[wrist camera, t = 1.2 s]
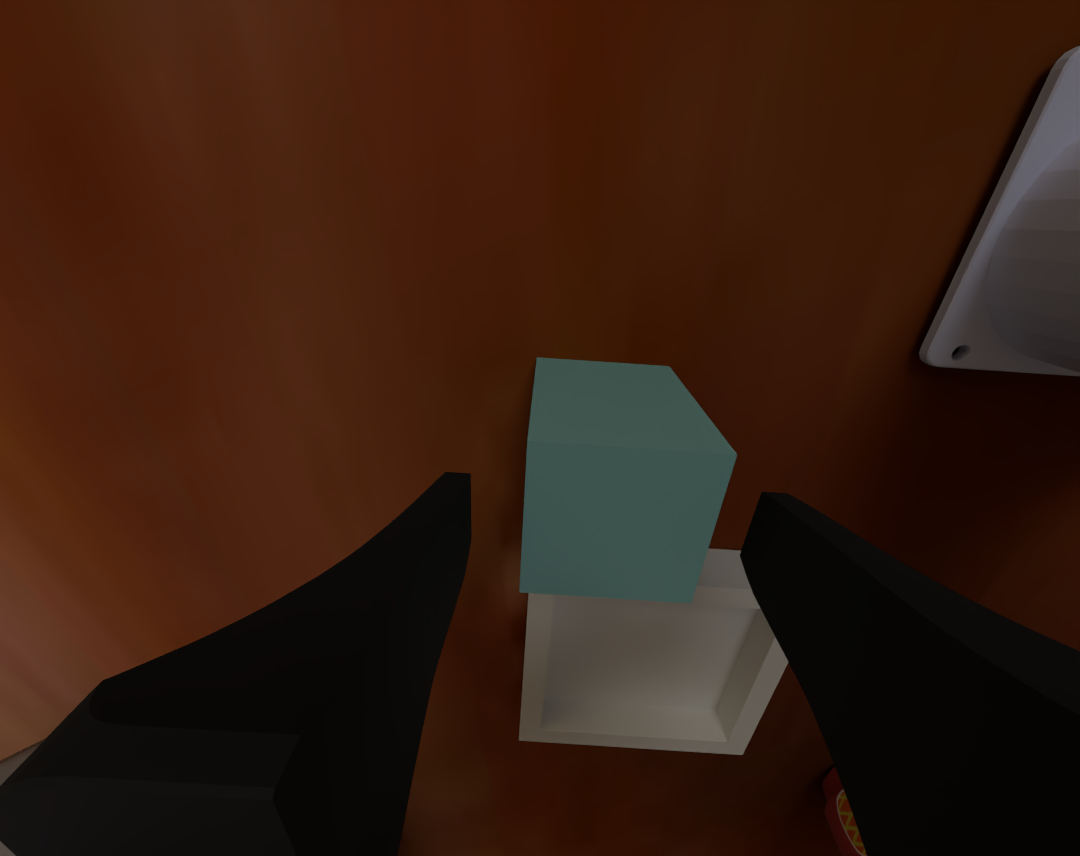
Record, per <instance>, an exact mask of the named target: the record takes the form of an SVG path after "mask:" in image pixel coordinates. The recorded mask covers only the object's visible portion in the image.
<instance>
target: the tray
mask: <svg viewBox="0 0 1080 856" xmlns="http://www.w3.org/2000/svg"><path fill="white" fill-rule="evenodd" d="M740 553H741V551H739V550H723V549H708V551H707V554H706V557H705V561H704V564H703V567H702V570H701V574H700V577H699V580H698V583H697V587H696V590H695V593H694V596H693V600H692V603H691V604H690V603H675V602H660V601H644V600H629V599H614V598H598V597H583V596H568V595H552V594H537V593H529V595H528V610H527V625H526V640H525V655H524V670H523V685H522V700H521V715H520V731H519V741H534V742H549V743H565V744H580V745H596V746H611V747H627V748H642V749H658V750H673V751H688V752H704V753H719V754H735V755H743V753H744V751H745V749H746V747H747V745H748V743H749V741H750V739H751V737H752V735H753V733H754V731H755V729H756V727H757V725H758V723H759V721H760V719H761V717H762V715H763V713H764V711H765V708H766V706H767V704H768V702H769V700H770V698H771V696H772V694H773V692H774V690H775V688H776V686H777V684H778V682H779V680H780V678H781V676H782V674H783V672H784V670H785V668H786V666H787V664H788V660H787V658H786V656H785V654H784V653H783V651H782V649H781V647H780V645H779V643H778V641H777V639H776V637H775V635H774V633H773V632H772V630H771V628H770V626H769V624H768V622H767V620H766V618H765V616H764V614H763V612H762V610H761V608H760V606H759V604H758V602H757V600H756V598H755V596H754V594H753V592H752V589H751V587H750V584H749V581H748V579H747V576H746V573H745V570H744V567H743V564H742V561H741V558H740Z"/></svg>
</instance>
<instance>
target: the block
mask: <svg viewBox="0 0 1080 856" xmlns="http://www.w3.org/2000/svg"><path fill="white" fill-rule="evenodd" d="M736 457H737V454H736V452H735V451H734V450H733V449H732V447H731V446H730V445H729V443H728V442H727V441H726V439H725V438H724V437H723V436H722V434H721V433H720V432H719V430H718V429H717V428H716V426H715V425H714V424H713V423H712V421H711V420H710V419H709V417H708V416H707V415H706V413H705V412H704V411H703V410H702V408H701V407H700V406H699V404H698V403H697V402H696V400H695V399H694V398H693V397H692V395H691V394H690V393H689V391H688V390H687V389H686V387H685V386H684V385H683V384H682V382H681V381H680V380H679V378H678V377H677V376H676V374H675V373H674V372H673V371H672V369H671V368H670V367H669V366H657V365H642V364H627V363H612V362H597V361H582V360H567V359H552V358H537V361H536V370H535V378H534V387H533V396H532V404H531V413H530V422H529V431H528V439H527V457H526V476H525V495H524V513H523V532H522V551H521V570H520V589H519V592H521V593H537V594H552V595H568V596H583V597H598V598H614V599H629V600H644V601H660V602H675V603H690V604H691V603H692V600H693V596H694V593H695V590H696V587H697V583H698V580H699V577H700V574H701V570H702V567H703V564H704V561H705V557H706V554H707V551H708V548H709V544H710V541H711V538H712V535H713V531H714V528H715V525H716V522H717V518H718V515H719V512H720V509H721V505H722V502H723V499H724V496H725V492H726V489H727V486H728V483H729V479H730V476H731V473H732V470H733V466H734V463H735V460H736Z"/></svg>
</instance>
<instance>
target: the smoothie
mask: <svg viewBox="0 0 1080 856" xmlns="http://www.w3.org/2000/svg"><path fill="white" fill-rule="evenodd" d="M822 788H823V791H824V794H825V797H826V800H827V803H826V807H825V811H824V815H825V817H826V819H827V822H828V824H829V827H830V829H831V832H832V834H833V837H834V839H835V842H836V844H837V847H838V849H839V852H840V854H841V856H867V854H866V851H865V848H864V845H863V842H862V840H861V837H860V834H859V831H858V828H857V825H856V822H855V819H854V816H853V813H852V810H851V808H850V805H849V802H848V800H847V797H846V794H845V792H844V789H843V787H842V784H841V781H840V779H839V776H838V773H837V771H836V768H835V767H834V768H832V770H831V771H830V772H829V773H828V774H827V775H826V776H825V778H824V780H823V784H822Z"/></svg>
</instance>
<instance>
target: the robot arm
mask: <svg viewBox="0 0 1080 856" xmlns="http://www.w3.org/2000/svg"><path fill="white" fill-rule="evenodd" d="M959 346H960V347H959ZM957 347H959V350H958V352H957V353H956V354H955V355H953V356H952V352H953V351H954V350H955V349H956V348H957ZM919 356H920V359H921V360H922V361H923V362H924V363H926V364H929V365H931V366H935V367H946V368H961V369H976V370H991V371H1006V372H1021V373H1036V374H1051V375H1066V376H1080V46H1078V47H1075V48H1073V49H1071V50H1070V51H1068V52H1066V53H1065V54H1064V55H1063V56H1062V57H1060V58H1059V59H1058V60H1057V61H1056V63H1055V65H1054V66H1053V68H1052V69H1051V71H1050V73H1049V75H1048V77H1047V79H1046V82H1045V84H1044V86H1043V88H1042V90H1041V92H1040V94H1039V97H1038V99H1037V101H1036V103H1035V105H1034V107H1033V109H1032V111H1031V114H1030V116H1029V118H1028V120H1027V122H1026V124H1025V126H1024V128H1023V131H1022V133H1021V135H1020V137H1019V139H1018V141H1017V143H1016V146H1015V148H1014V150H1013V152H1012V154H1011V156H1010V158H1009V160H1008V163H1007V165H1006V167H1005V169H1004V171H1003V173H1002V175H1001V177H1000V180H999V182H998V184H997V186H996V188H995V190H994V192H993V195H992V197H991V199H990V201H989V203H988V205H987V207H986V209H985V212H984V214H983V216H982V218H981V220H980V222H979V224H978V226H977V229H976V231H975V233H974V235H973V237H972V239H971V241H970V244H969V246H968V248H967V250H966V252H965V254H964V256H963V258H962V261H961V263H960V265H959V267H958V269H957V271H956V273H955V276H954V278H953V280H952V282H951V284H950V286H949V288H948V290H947V293H946V295H945V297H944V299H943V301H942V303H941V305H940V307H939V310H938V312H937V314H936V316H935V318H934V320H933V322H932V325H931V327H930V329H929V331H928V333H927V335H926V337H925V339H924V342H923V344H922V346H921V348H920V352H919ZM951 356H952V357H951ZM470 544H471V476H470V474H469V473H453V472H445V473H444V474H443V475H442V476H441V477H440V478H438V479H437V480H436V481H435V482H434V483H433V484H432V485H431V486H430V487H429V488H428V489H427V490H426V491H425V492H424V493H423V494H422V495H421V496H420V497H419V498H418V499H417V500H416V501H415V502H413V503H412V504H411V505H410V506H409V507H408V508H407V509H406V510H405V511H404V512H402V513H401V514H400V515H399V516H398V517H397V518H396V519H395V520H393V521H392V522H391V523H390V524H389V525H388V526H386V527H385V528H384V529H383V530H381V531H380V532H379V533H378V534H376V535H375V536H374V537H373V538H372V539H370V540H369V541H368V542H367V543H365V544H364V545H363V546H361V547H360V548H359V549H357V550H356V551H355V552H353V553H352V554H351V555H349V556H348V557H346V558H345V559H343V560H342V561H340V562H339V563H337V564H336V565H334V566H333V567H331V568H330V569H328V570H327V571H325V572H324V573H322V574H321V575H319V576H318V577H316V578H314V579H312V580H311V581H309V582H307V583H306V584H304V585H302V586H300V587H299V588H297V589H295V590H294V591H292V592H290V593H288V594H287V595H285V596H283V597H282V598H280V599H278V600H276V601H275V602H273V603H271V604H269V605H267V606H266V607H264V608H262V609H260V610H258V611H256V612H254V613H252V614H250V615H248V616H246V617H244V618H243V619H241V620H239V621H237V622H235V623H232V624H230V625H228V626H226V627H224V628H222V629H220V630H218V631H216V632H214V633H212V634H210V635H208V636H206V637H203V638H201V639H199V640H197V641H195V642H193V643H190V644H188V645H186V646H184V647H181V648H179V649H177V650H174V651H172V652H170V653H167V654H165V655H163V656H160V657H158V658H155V659H153V660H151V661H148V662H146V663H144V664H141V665H139V666H137V667H134V668H132V669H130V670H127V671H125V672H123V673H120V674H118V675H115V676H113V677H110V678H108V679H105V680H103V681H102V682H101V683H100V684H99V685H98V686H97V687H96V688H95V689H94V690H93V691H92V692H91V693H90V694H89V695H88V696H87V697H86V698H85V699H84V700H83V701H82V702H81V703H80V704H79V705H78V706H77V707H76V708H75V709H74V710H73V711H72V712H71V713H70V714H69V715H68V716H67V717H66V718H65V719H64V720H63V721H62V723H61V724H60V725H59V726H58V727H57V728H56V729H55V730H54V731H53V732H52V733H51V734H50V735H49V736H48V737H47V738H46V739H45V740H44V741H43V742H42V743H41V744H40V745H39V746H38V747H37V748H36V749H35V750H34V751H33V752H32V753H31V755H30V756H29V757H28V758H27V759H26V760H25V761H24V762H23V763H22V764H21V765H20V766H19V767H18V768H17V769H16V770H15V771H14V772H13V773H12V774H11V775H10V776H9V777H8V778H7V779H6V780H5V781H4V782H3V783H2V784H1V786H0V841H1V843H3V844H4V845H5V846H6V847H7V848H8V849H9V850H10V851H11V852H12V853H13V854H14V855H16V856H398V851H399V846H400V840H401V835H402V830H403V825H404V820H405V814H406V809H407V804H408V799H409V793H410V788H411V783H412V778H413V773H414V768H415V763H416V758H417V753H418V749H419V744H420V739H421V734H422V729H423V724H424V720H425V715H426V710H427V705H428V701H429V696H430V691H431V687H432V682H433V679H434V675H435V671H436V667H437V664H438V660H439V657H440V654H441V651H442V647H443V644H444V641H445V638H446V635H447V631H448V628H449V625H450V622H451V619H452V615H453V612H454V609H455V606H456V602H457V599H458V596H459V593H460V589H461V586H462V583H463V579H464V576H465V571H466V566H467V561H468V555H469V550H470ZM740 558H741V561H742V564H743V567H744V570H745V573H746V576H747V579H748V581H749V584H750V587H751V589H752V592H753V594H754V596H755V598H756V600H757V602H758V604H759V606H760V608H761V610H762V612H763V614H764V616H765V618H766V620H767V622H768V624H769V626H770V628H771V630H772V632H773V633H774V635H775V637H776V639H777V641H778V643H779V645H780V647H781V649H782V651H783V653H784V654H785V656H786V658H787V660H788V662H789V664H790V666H791V668H792V670H793V672H794V673H795V675H796V677H797V679H798V681H799V683H800V685H801V687H802V689H803V691H804V693H805V695H806V698H807V700H808V702H809V704H810V706H811V708H812V711H813V713H814V716H815V718H816V721H817V723H818V725H819V728H820V730H821V733H822V735H823V738H824V740H825V743H826V745H827V747H828V750H829V752H830V755H831V757H832V760H833V763H834V765H835V768H836V771H837V773H838V776H839V779H840V781H841V784H842V787H843V789H844V792H845V794H846V797H847V800H848V802H849V805H850V808H851V810H852V813H853V816H854V819H855V822H856V825H857V828H858V831H859V834H860V837H861V840H862V842H863V845H864V848H865V851H866V854H867V856H1080V651H1077V650H1075V649H1073V648H1071V647H1068V646H1066V645H1064V644H1062V643H1060V642H1057V641H1055V640H1053V639H1051V638H1048V637H1046V636H1044V635H1042V634H1039V633H1037V632H1035V631H1033V630H1031V629H1029V628H1026V627H1024V626H1022V625H1020V624H1018V623H1016V622H1014V621H1012V620H1009V619H1007V618H1005V617H1003V616H1001V615H999V614H997V613H995V612H993V611H991V610H989V609H987V608H985V607H983V606H981V605H980V604H978V603H976V602H974V601H972V600H970V599H968V598H966V597H964V596H962V595H960V594H958V593H956V592H954V591H952V590H950V589H949V588H947V587H945V586H943V585H941V584H939V583H937V582H936V581H934V580H932V579H930V578H929V577H927V576H925V575H923V574H922V573H920V572H918V571H916V570H915V569H913V568H911V567H909V566H908V565H906V564H904V563H902V562H901V561H899V560H897V559H896V558H894V557H892V556H890V555H889V554H887V553H885V552H884V551H882V550H880V549H879V548H877V547H876V546H874V545H872V544H871V543H869V542H867V541H866V540H864V539H863V538H861V537H859V536H858V535H856V534H854V533H853V532H851V531H850V530H848V529H846V528H845V527H843V526H842V525H840V524H838V523H837V522H835V521H834V520H832V519H830V518H829V517H827V516H826V515H824V514H822V513H821V512H819V511H817V510H816V509H814V508H812V507H811V506H809V505H807V504H806V503H804V502H802V501H800V500H798V499H797V498H795V497H793V496H791V495H789V494H787V493H772V492H762V493H761V496H760V499H759V501H758V504H757V507H756V510H755V513H754V516H753V518H752V521H751V524H750V527H749V530H748V533H747V535H746V538H745V541H744V544H743V547H742V550H741V553H740Z"/></svg>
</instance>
